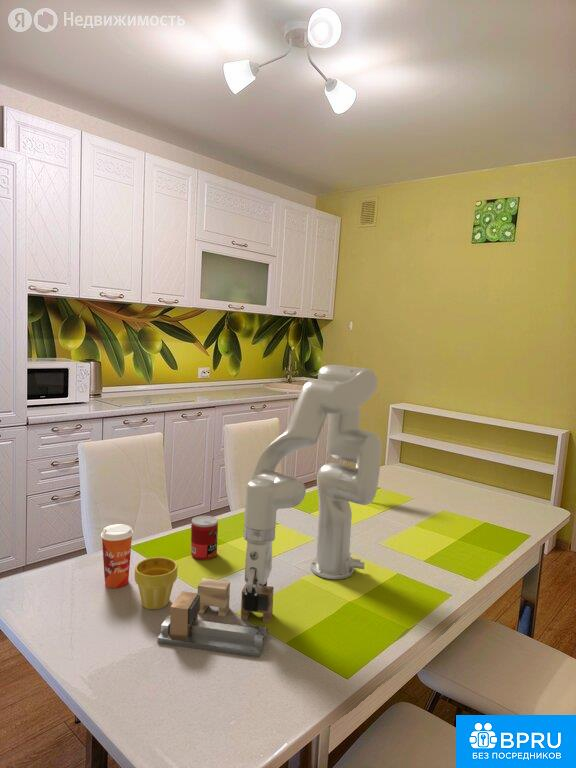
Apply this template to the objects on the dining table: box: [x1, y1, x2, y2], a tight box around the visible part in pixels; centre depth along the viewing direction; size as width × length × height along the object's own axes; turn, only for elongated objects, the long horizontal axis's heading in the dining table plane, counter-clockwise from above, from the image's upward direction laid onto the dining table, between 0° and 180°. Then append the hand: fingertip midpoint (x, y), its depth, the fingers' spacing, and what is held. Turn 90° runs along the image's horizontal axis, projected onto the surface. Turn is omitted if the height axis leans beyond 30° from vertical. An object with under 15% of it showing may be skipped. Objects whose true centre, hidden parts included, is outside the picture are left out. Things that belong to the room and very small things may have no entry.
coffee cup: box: [100, 523, 135, 589], centre depth 142 cm, size 8×8×15 cm
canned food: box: [190, 515, 219, 561], centre depth 161 cm, size 8×8×11 cm
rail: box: [156, 591, 269, 658], centre depth 120 cm, size 23×9×8 cm, turn 81°
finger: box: [240, 582, 275, 623], centre depth 129 cm, size 5×7×7 cm, turn 81°
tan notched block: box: [197, 577, 231, 617], centre depth 132 cm, size 5×7×7 cm, turn 81°
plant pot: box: [134, 556, 178, 610], centre depth 133 cm, size 10×10×10 cm
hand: (255, 600), depth 129 cm, fingers open, 9 cm apart
